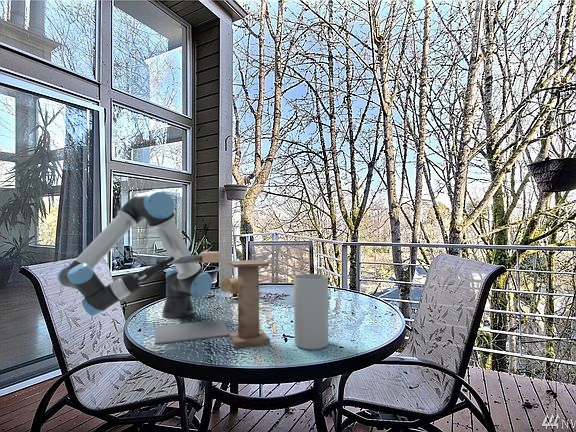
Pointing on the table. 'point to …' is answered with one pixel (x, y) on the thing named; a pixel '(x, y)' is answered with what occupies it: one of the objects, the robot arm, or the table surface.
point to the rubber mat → (190, 331)
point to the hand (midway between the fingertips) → (181, 253)
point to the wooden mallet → (196, 258)
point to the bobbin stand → (248, 305)
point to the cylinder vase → (311, 311)
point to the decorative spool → (230, 286)
